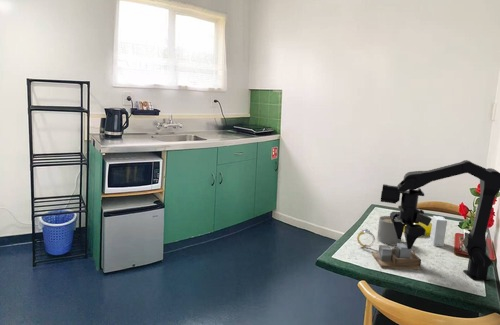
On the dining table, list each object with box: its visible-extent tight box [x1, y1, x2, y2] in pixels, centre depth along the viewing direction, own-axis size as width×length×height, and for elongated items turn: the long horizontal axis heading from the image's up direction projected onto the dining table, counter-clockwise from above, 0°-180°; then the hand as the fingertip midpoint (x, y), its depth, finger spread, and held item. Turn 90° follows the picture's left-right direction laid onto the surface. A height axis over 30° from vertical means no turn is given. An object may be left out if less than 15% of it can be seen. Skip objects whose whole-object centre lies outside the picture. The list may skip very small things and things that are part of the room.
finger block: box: [395, 242, 412, 259], centre depth 137 cm, size 4×4×6 cm
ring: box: [356, 228, 376, 248], centre depth 150 cm, size 7×3×8 cm, turn 62°
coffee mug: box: [376, 215, 402, 246], centre depth 159 cm, size 13×10×10 cm
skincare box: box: [429, 215, 448, 248], centre depth 156 cm, size 6×4×12 cm
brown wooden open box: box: [371, 244, 423, 270], centre depth 137 cm, size 11×15×6 cm
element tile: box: [403, 222, 432, 236], centre depth 173 cm, size 15×15×5 cm
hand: (404, 243), depth 136 cm, fingers open, 9 cm apart
